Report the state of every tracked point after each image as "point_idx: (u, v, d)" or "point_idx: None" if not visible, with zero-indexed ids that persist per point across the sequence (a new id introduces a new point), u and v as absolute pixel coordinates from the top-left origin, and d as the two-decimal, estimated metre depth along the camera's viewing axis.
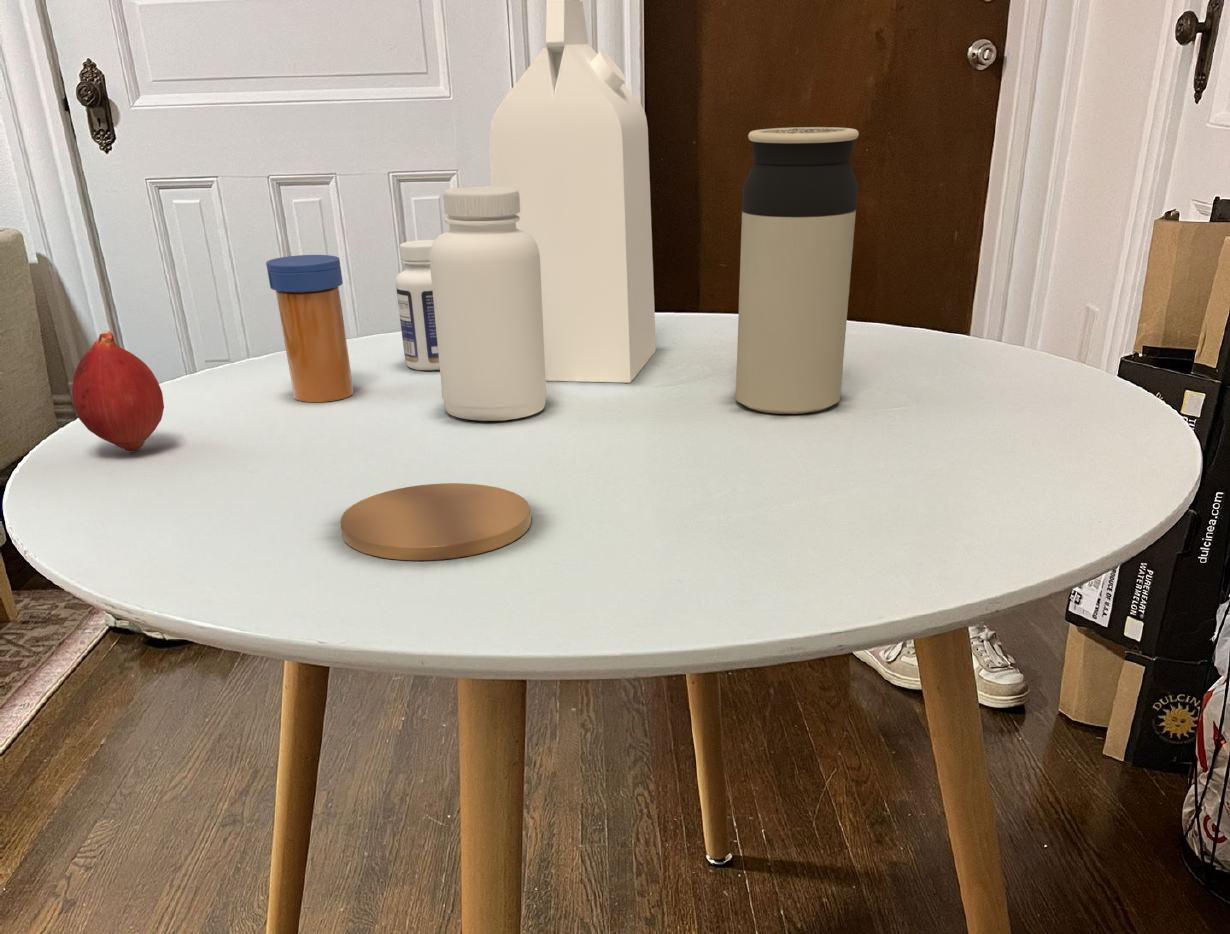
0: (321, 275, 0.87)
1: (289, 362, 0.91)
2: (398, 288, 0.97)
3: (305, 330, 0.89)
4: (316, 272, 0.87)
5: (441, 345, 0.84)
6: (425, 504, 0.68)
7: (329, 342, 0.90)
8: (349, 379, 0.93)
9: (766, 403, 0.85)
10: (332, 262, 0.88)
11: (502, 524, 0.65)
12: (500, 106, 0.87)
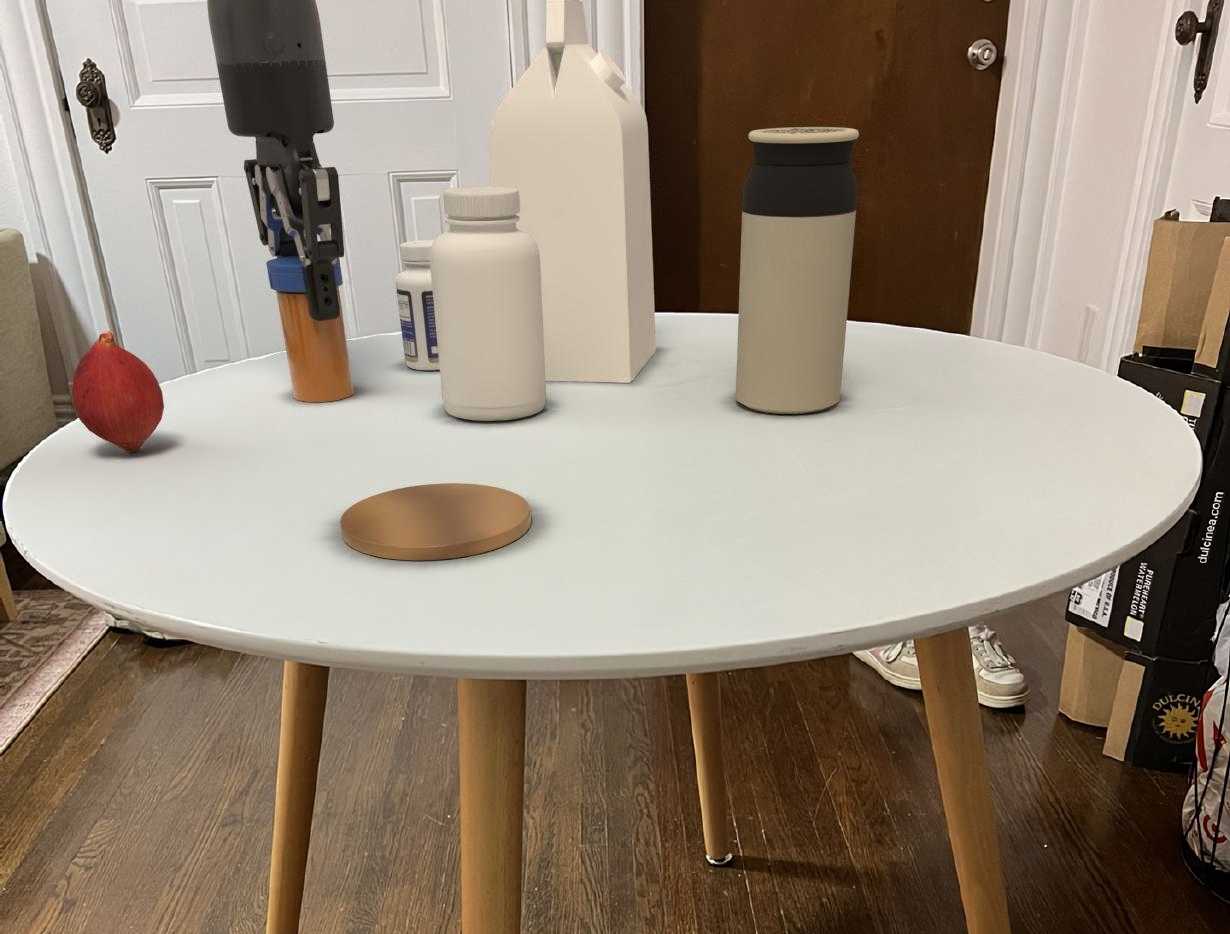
0: None
1: (289, 362, 0.91)
2: (398, 288, 0.97)
3: (305, 330, 0.89)
4: None
5: (441, 345, 0.84)
6: (425, 504, 0.68)
7: (329, 342, 0.90)
8: (349, 379, 0.93)
9: (766, 403, 0.85)
10: None
11: (502, 524, 0.65)
12: (500, 106, 0.87)
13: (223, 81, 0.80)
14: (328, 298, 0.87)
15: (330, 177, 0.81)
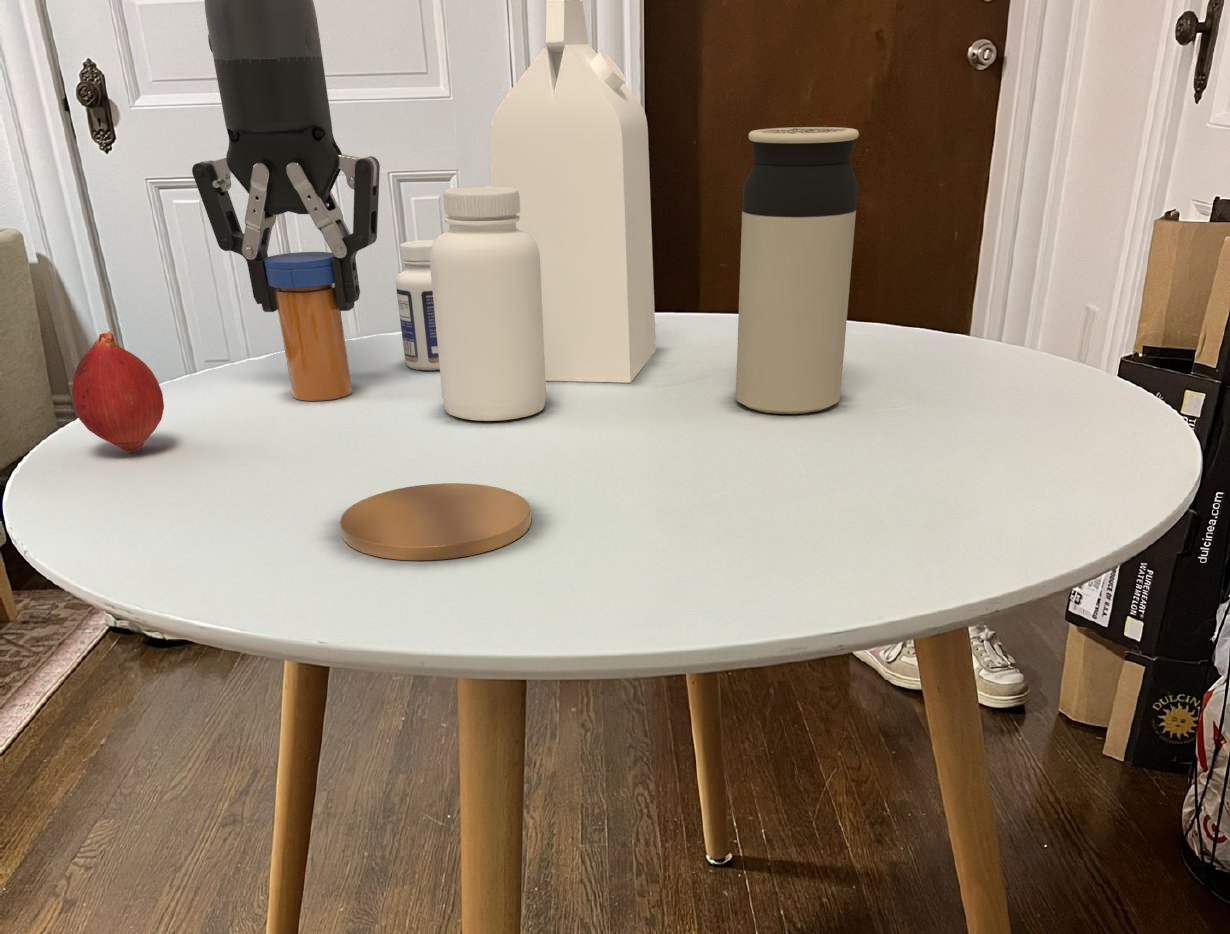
0: None
1: (288, 361, 0.92)
2: (398, 288, 0.97)
3: (304, 328, 0.89)
4: None
5: (441, 345, 0.84)
6: (425, 504, 0.68)
7: (328, 341, 0.90)
8: (348, 378, 0.93)
9: (766, 403, 0.85)
10: None
11: (502, 524, 0.65)
12: (500, 106, 0.87)
13: (256, 77, 0.79)
14: None
15: (377, 165, 0.85)
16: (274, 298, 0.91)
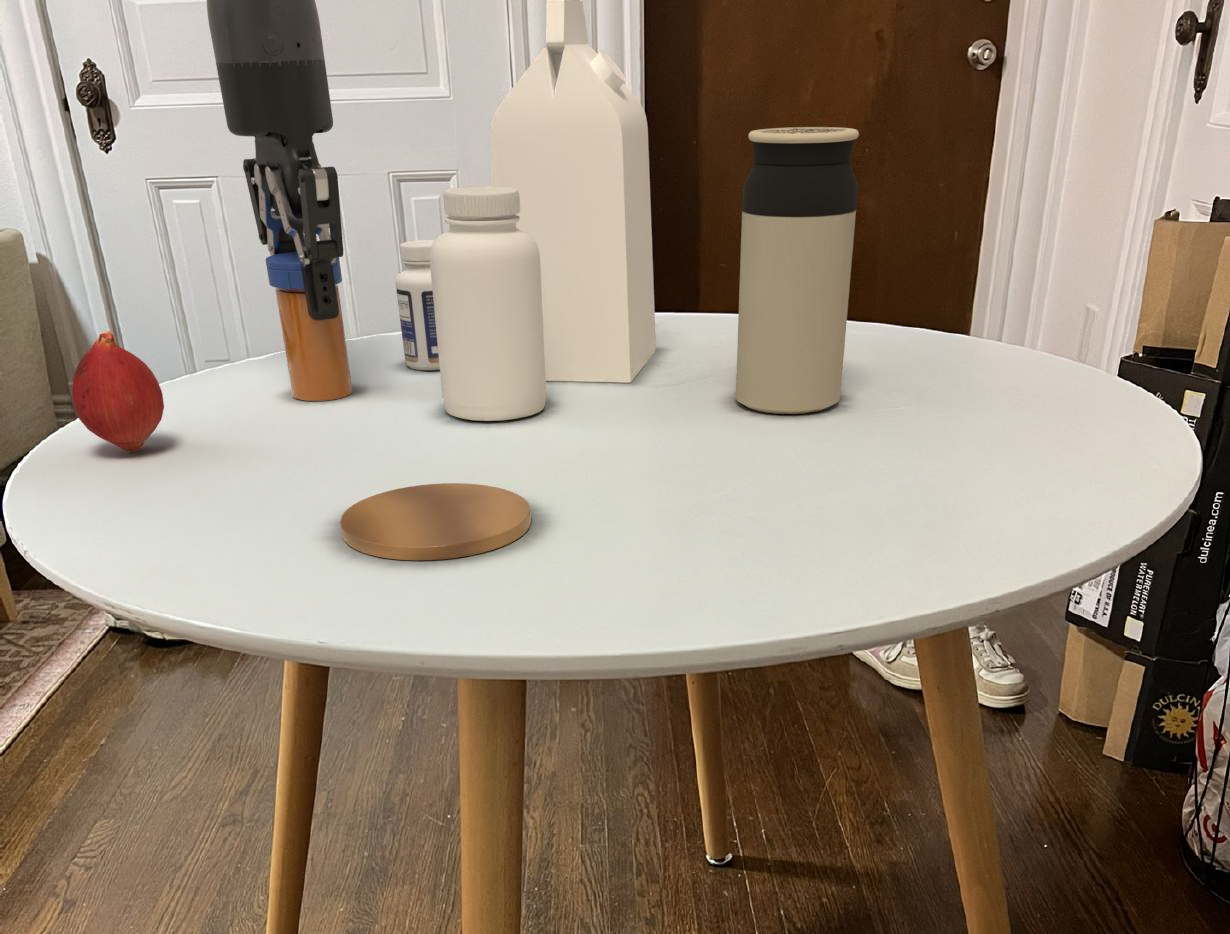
0: (338, 268, 0.89)
1: (288, 361, 0.92)
2: (398, 288, 0.97)
3: (305, 329, 0.89)
4: (336, 266, 0.88)
5: (441, 345, 0.84)
6: (425, 504, 0.68)
7: (329, 342, 0.90)
8: (348, 378, 0.93)
9: (766, 403, 0.85)
10: None
11: (502, 524, 0.65)
12: (500, 106, 0.87)
13: (222, 81, 0.80)
14: (327, 298, 0.87)
15: (329, 176, 0.81)
16: None
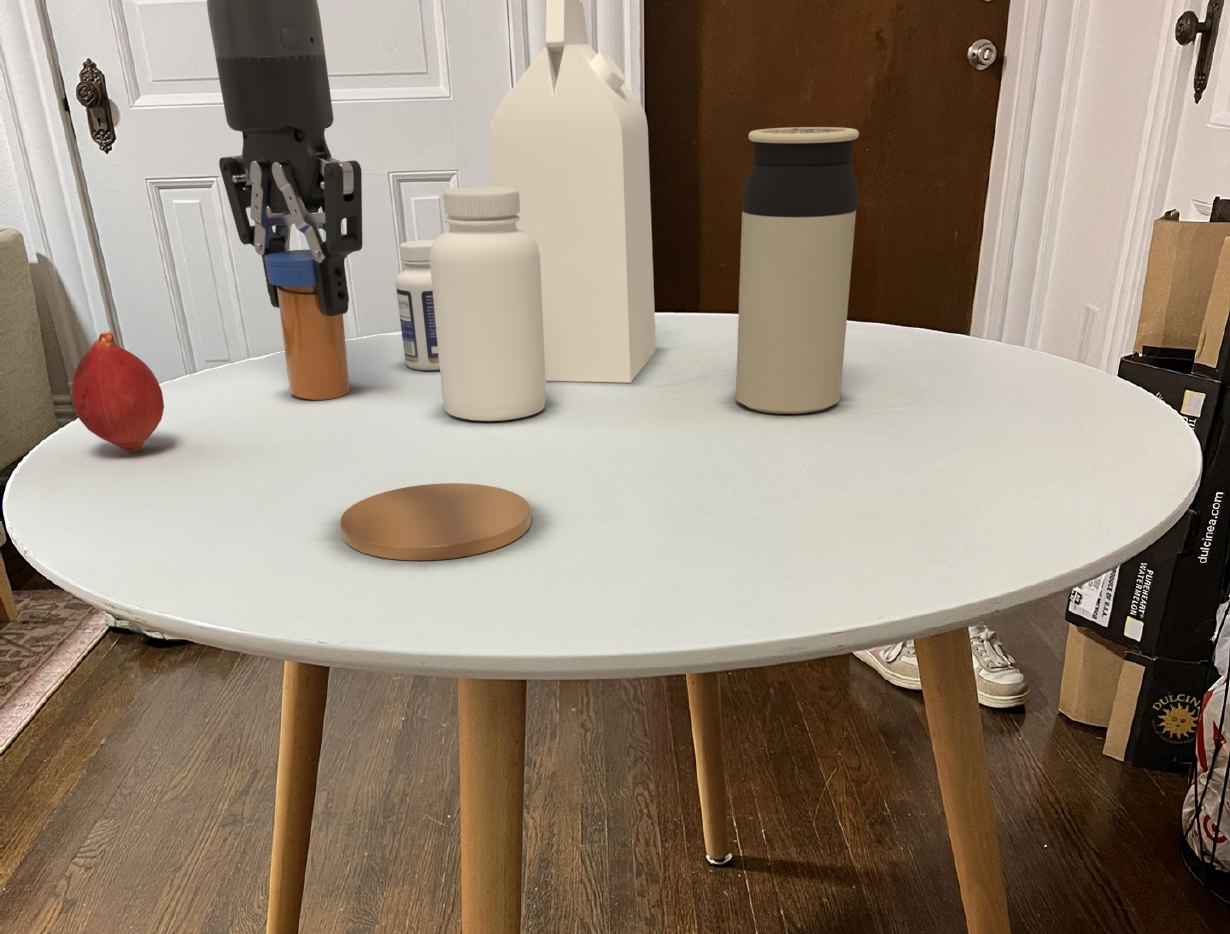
0: None
1: (286, 357, 0.92)
2: (398, 288, 0.97)
3: (305, 329, 0.89)
4: None
5: (441, 345, 0.84)
6: (425, 504, 0.68)
7: (328, 342, 0.90)
8: (346, 377, 0.93)
9: (766, 403, 0.85)
10: None
11: (502, 524, 0.65)
12: (500, 106, 0.87)
13: (231, 75, 0.79)
14: (340, 293, 0.87)
15: (354, 170, 0.81)
16: None
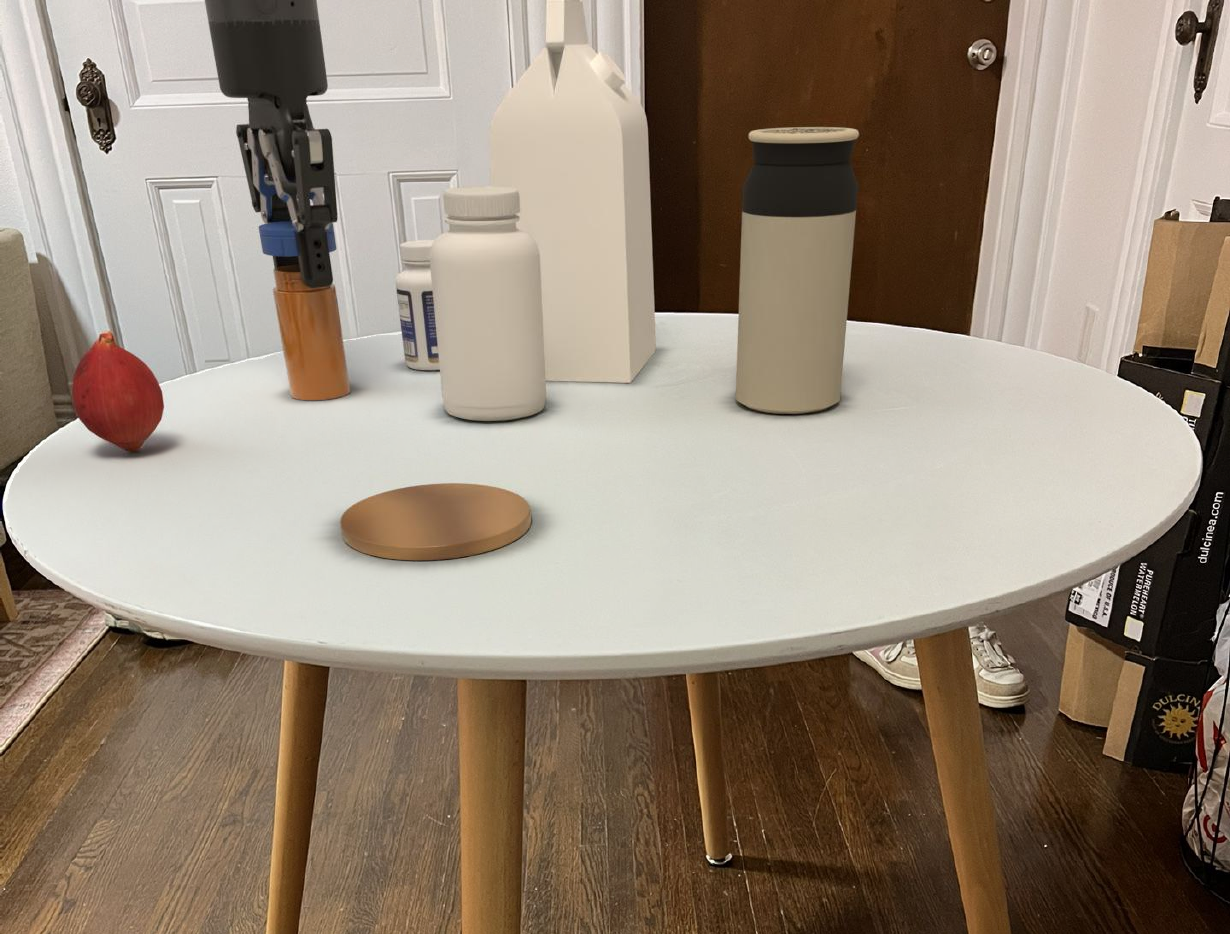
0: (332, 236, 0.87)
1: (286, 360, 0.92)
2: (398, 288, 0.97)
3: (301, 328, 0.90)
4: (330, 233, 0.87)
5: (441, 345, 0.84)
6: (425, 504, 0.68)
7: (325, 341, 0.91)
8: (345, 378, 0.93)
9: (766, 403, 0.85)
10: None
11: (502, 524, 0.65)
12: (500, 106, 0.87)
13: (215, 40, 0.79)
14: (321, 264, 0.86)
15: (323, 138, 0.79)
16: None
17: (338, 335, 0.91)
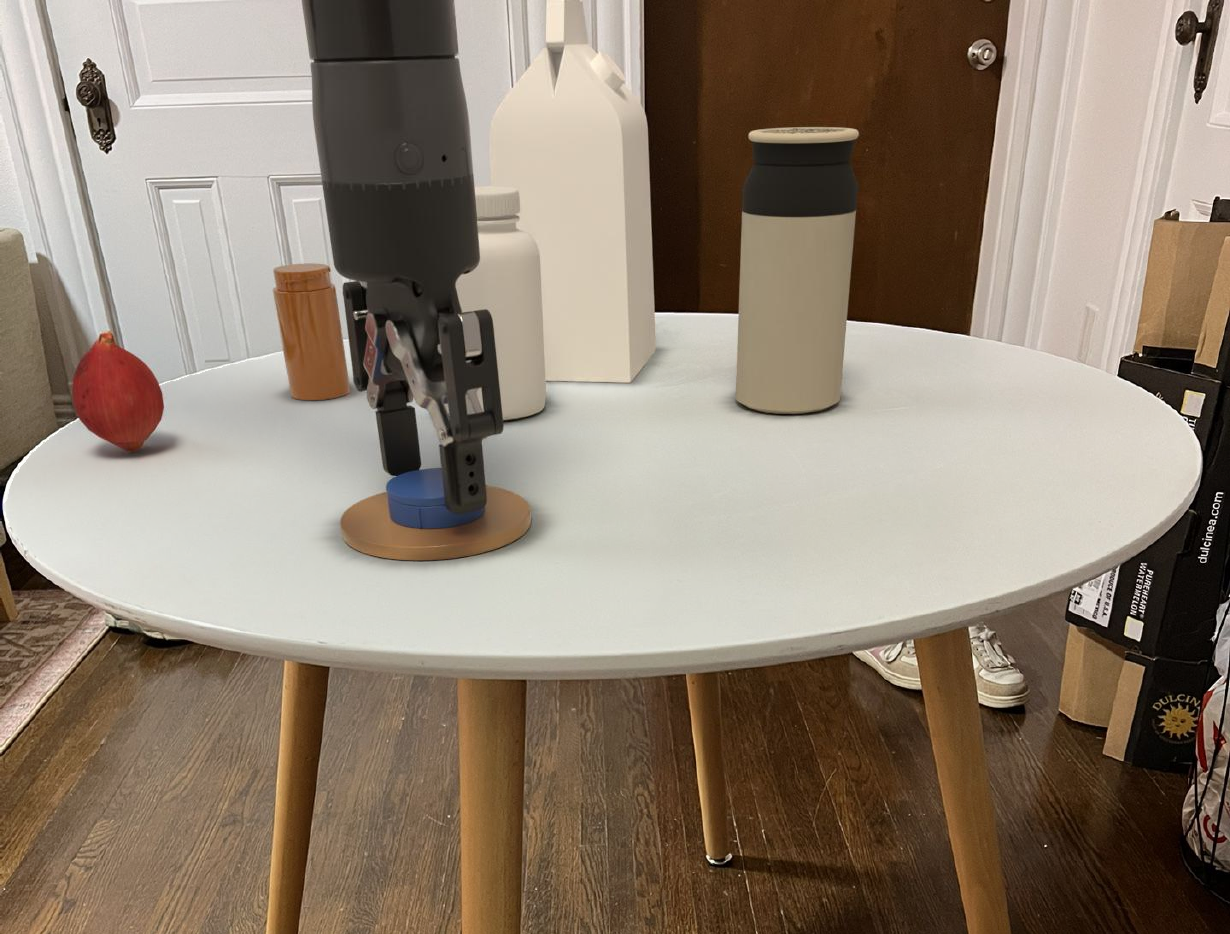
0: None
1: (286, 360, 0.92)
2: None
3: (301, 328, 0.90)
4: None
5: None
6: None
7: (325, 341, 0.91)
8: (345, 378, 0.93)
9: (766, 403, 0.85)
10: None
11: (502, 524, 0.65)
12: (500, 106, 0.87)
13: (332, 206, 0.56)
14: (473, 485, 0.62)
15: (481, 321, 0.56)
16: (403, 459, 0.69)
17: (338, 335, 0.91)
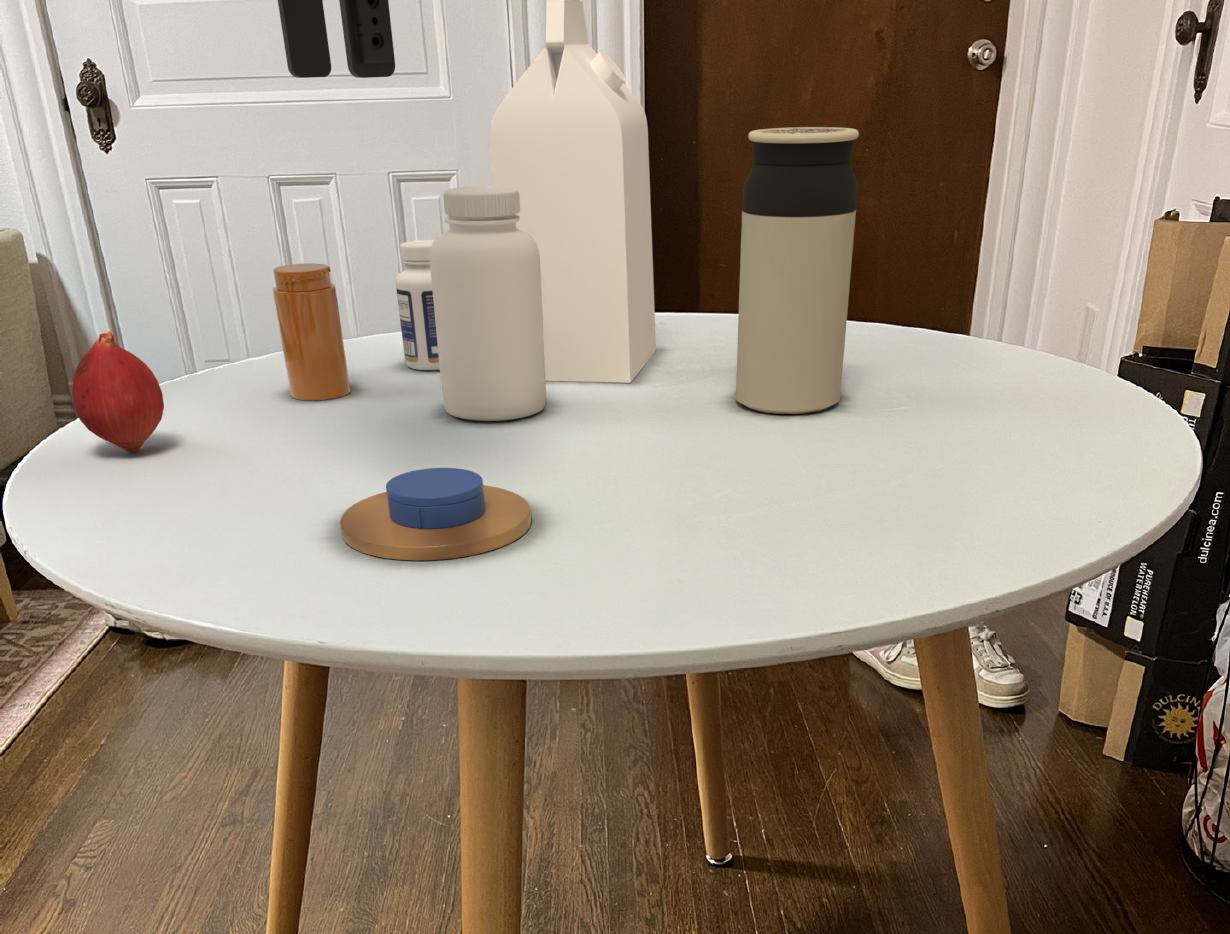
0: (482, 496, 0.66)
1: (286, 360, 0.92)
2: (398, 288, 0.97)
3: (301, 328, 0.90)
4: (480, 494, 0.66)
5: (441, 345, 0.84)
6: None
7: (325, 341, 0.91)
8: (345, 378, 0.93)
9: (766, 403, 0.85)
10: (480, 476, 0.67)
11: (502, 524, 0.65)
12: (500, 106, 0.87)
13: None
14: (378, 38, 0.55)
15: None
16: (310, 58, 0.62)
17: (338, 335, 0.91)
